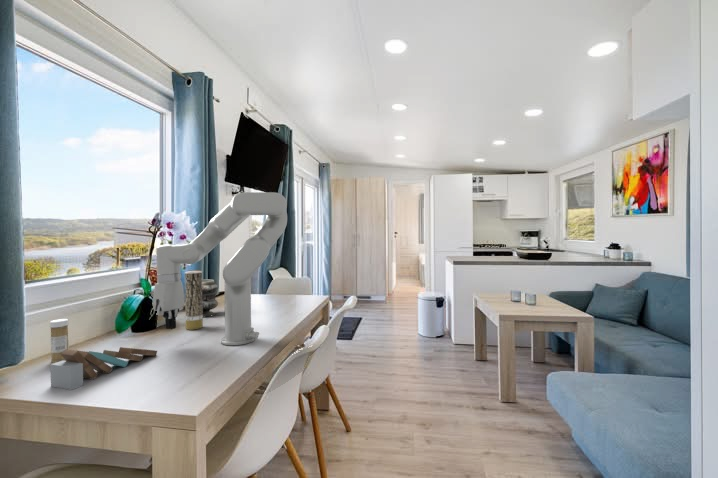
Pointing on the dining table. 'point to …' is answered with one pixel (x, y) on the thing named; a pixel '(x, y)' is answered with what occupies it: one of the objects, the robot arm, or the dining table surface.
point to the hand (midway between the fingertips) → (170, 328)
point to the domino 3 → (109, 359)
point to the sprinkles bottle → (59, 339)
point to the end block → (66, 375)
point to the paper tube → (193, 300)
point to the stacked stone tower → (208, 297)
